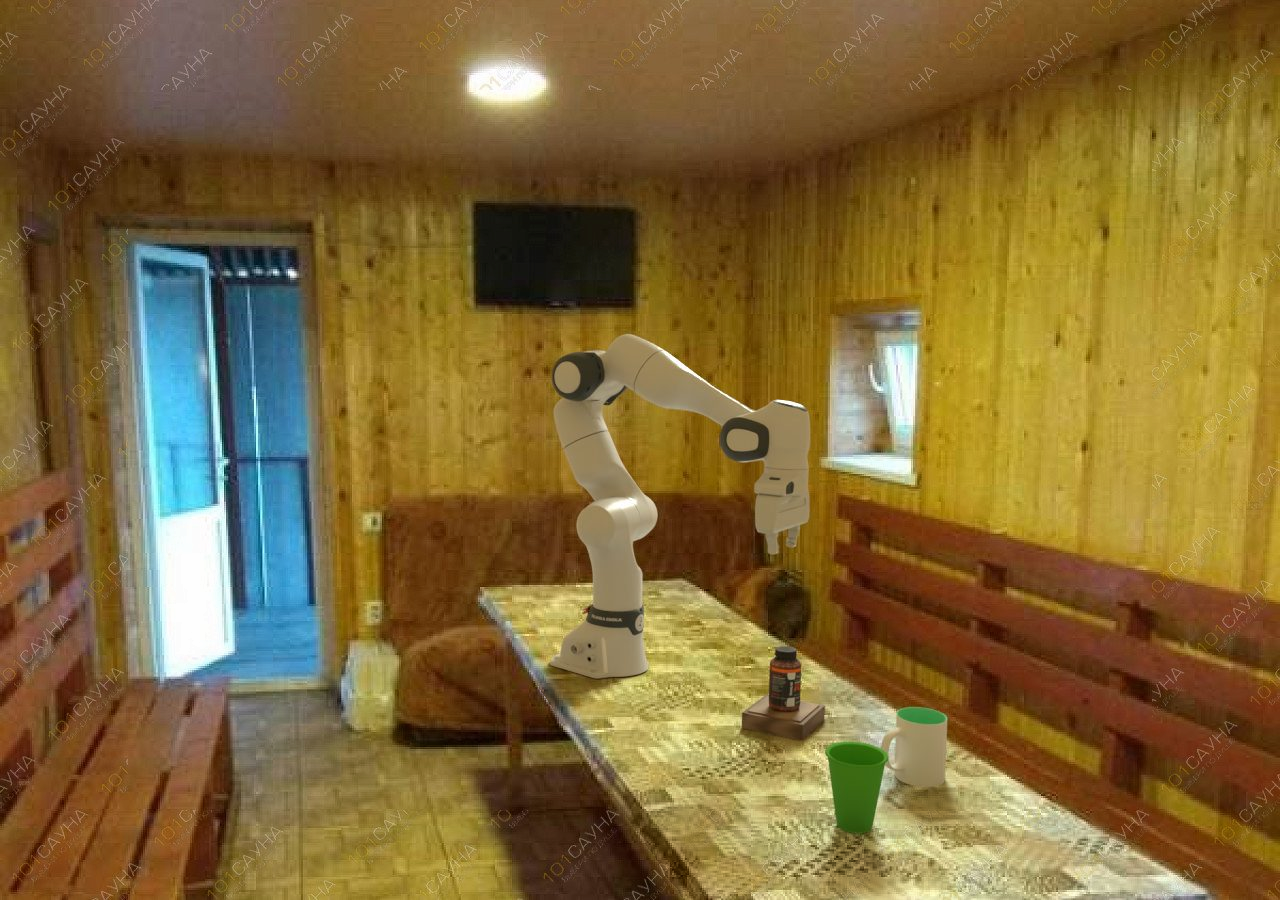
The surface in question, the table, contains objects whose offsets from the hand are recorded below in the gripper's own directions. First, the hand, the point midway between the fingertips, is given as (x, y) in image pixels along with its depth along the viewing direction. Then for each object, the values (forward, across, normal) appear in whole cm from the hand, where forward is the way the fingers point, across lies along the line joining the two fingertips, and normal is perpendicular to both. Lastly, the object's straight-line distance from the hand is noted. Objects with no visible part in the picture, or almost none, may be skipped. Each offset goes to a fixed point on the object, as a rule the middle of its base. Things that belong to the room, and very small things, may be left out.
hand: (782, 550), depth 191 cm
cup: (+31, +44, +31) cm, 62 cm away
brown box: (+31, +12, +7) cm, 34 cm away
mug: (+30, +23, +34) cm, 51 cm away
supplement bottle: (+28, +12, +7) cm, 31 cm away
